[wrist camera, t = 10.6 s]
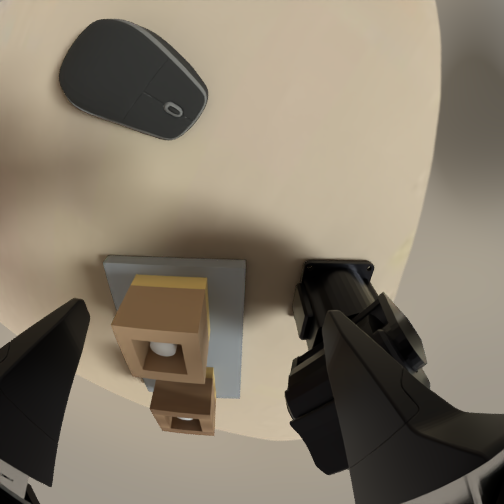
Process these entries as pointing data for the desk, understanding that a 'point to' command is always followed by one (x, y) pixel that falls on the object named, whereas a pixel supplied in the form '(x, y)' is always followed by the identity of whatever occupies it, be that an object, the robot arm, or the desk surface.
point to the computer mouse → (132, 79)
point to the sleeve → (185, 405)
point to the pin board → (179, 318)
